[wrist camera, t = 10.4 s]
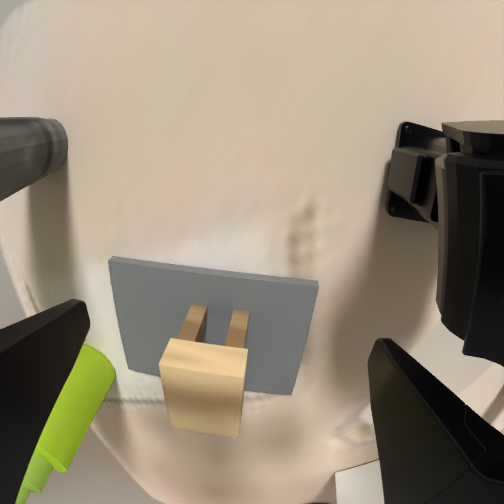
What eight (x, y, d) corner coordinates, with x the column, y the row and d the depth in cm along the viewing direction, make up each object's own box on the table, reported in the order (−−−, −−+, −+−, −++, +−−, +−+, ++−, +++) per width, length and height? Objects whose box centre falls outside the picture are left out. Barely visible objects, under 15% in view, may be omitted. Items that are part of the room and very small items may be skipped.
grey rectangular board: (317, 280, 22) (318, 286, 21) (291, 388, 27) (291, 394, 26) (112, 256, 23) (108, 260, 22) (131, 363, 28) (128, 369, 27)
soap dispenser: (93, 388, 31) (26, 518, 13) (62, 345, 28) (-28, 479, 10) (129, 388, 30) (63, 540, 11) (97, 342, 27) (1, 503, 9)
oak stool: (247, 372, 25) (238, 438, 19) (191, 364, 26) (170, 426, 19) (253, 308, 23) (244, 377, 16) (187, 300, 23) (158, 364, 16)
